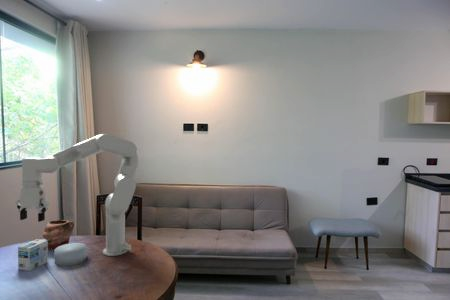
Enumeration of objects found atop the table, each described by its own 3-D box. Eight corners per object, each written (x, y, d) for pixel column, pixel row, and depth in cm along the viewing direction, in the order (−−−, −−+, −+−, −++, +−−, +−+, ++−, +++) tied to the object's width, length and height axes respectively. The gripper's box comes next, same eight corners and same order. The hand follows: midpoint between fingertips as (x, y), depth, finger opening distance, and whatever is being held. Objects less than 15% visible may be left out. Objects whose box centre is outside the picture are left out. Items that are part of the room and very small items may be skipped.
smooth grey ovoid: (92, 255, 150) (92, 244, 150) (73, 267, 137) (73, 255, 136) (68, 252, 153) (68, 241, 153) (47, 264, 139) (47, 252, 139)
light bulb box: (29, 271, 132) (29, 248, 131) (17, 269, 133) (17, 246, 132) (48, 261, 142) (48, 239, 142) (36, 260, 143) (36, 238, 143)
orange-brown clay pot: (63, 238, 173) (63, 215, 172) (81, 240, 171) (81, 217, 170) (35, 251, 153) (35, 225, 152) (56, 253, 151) (56, 227, 150)
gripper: (54, 183, 137) (54, 219, 138) (23, 181, 140) (23, 216, 141) (41, 186, 130) (42, 223, 131) (9, 184, 133) (9, 220, 134)
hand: (32, 220), depth 136 cm, fingers open, 9 cm apart
